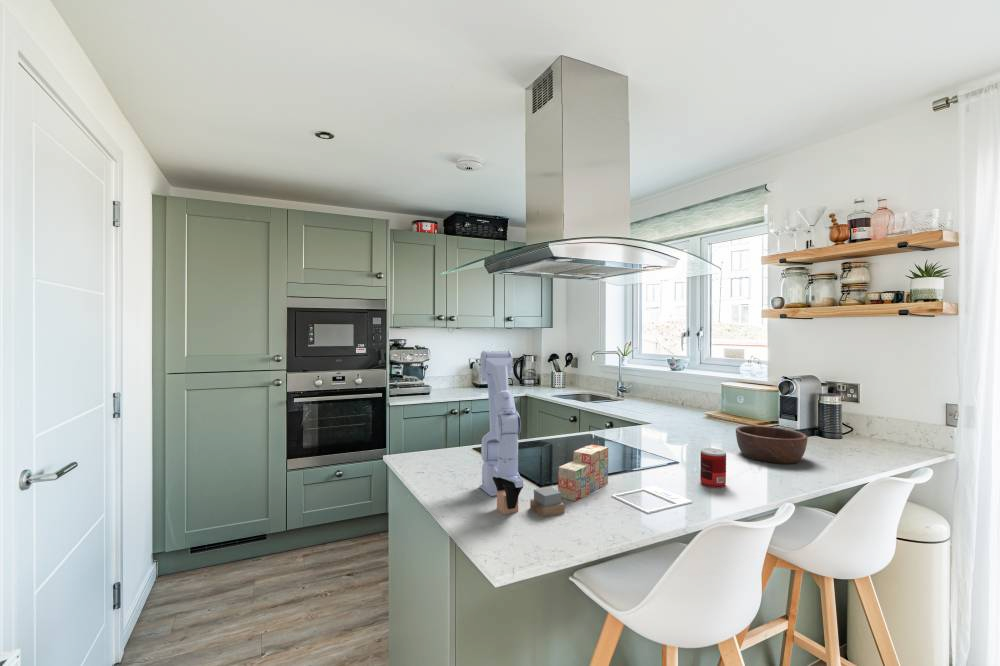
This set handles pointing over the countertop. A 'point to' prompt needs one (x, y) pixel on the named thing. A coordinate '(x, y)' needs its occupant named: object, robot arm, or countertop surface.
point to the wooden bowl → (771, 444)
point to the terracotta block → (504, 503)
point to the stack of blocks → (584, 472)
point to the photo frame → (659, 493)
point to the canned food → (713, 467)
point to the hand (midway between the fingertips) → (507, 505)
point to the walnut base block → (547, 509)
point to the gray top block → (547, 496)
